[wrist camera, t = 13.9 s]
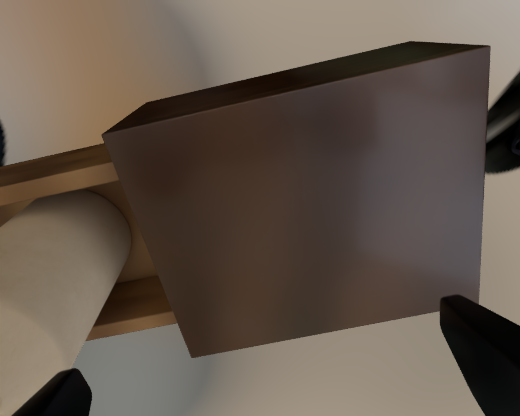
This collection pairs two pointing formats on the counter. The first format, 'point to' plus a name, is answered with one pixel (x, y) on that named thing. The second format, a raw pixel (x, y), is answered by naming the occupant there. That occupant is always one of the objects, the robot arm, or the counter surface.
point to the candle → (54, 286)
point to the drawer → (109, 186)
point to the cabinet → (313, 193)
